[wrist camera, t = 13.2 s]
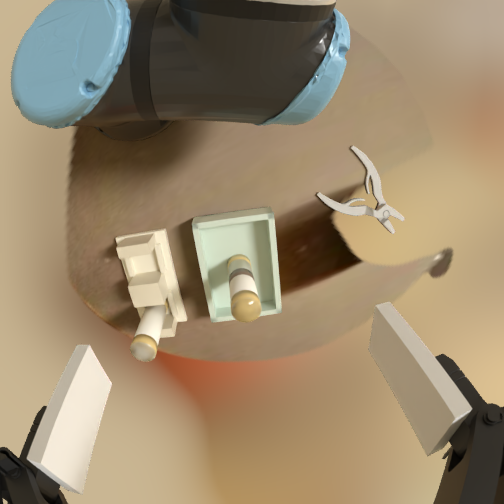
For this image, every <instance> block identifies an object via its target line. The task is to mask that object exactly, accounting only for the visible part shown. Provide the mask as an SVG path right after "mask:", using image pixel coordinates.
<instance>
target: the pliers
mask: <svg viewBox="0 0 504 504" xmlns="http://www.w3.org/2000/svg"><path fill="white" fill-rule="evenodd" d="M351 149H352V150H353V151H354V152H355V154H356V155H357V156H358V157H359V158H360V160H361V161H362V162H363V164H364V165H365V167H366V169H367V175H366V180H365V190H366V193H367V194H370V193H369V188H368V179H369V177H371V179H372V182H371V186H372V194H373V195H374V197H375V199H376V200H377V205H376V208H375V210H374V209H372V208H370V207H368V206H366V205H358V206H349V205H350V204H351V203H352V202H355V201H365V199H363V198H353V199H350V200H348V201H346V202H345V203H343V204H340V203H338V202H335V201H333V200H331V199H329V198H328V197H326V196H324V195H322V194H321V193H319V192H318V193H317V196H318V197H319V198H320V199H321V200H322V201H323V202H324V203H326V204H327V205H328V206H330V207H331V208H333V209H335V210H337V211H339V212H341V213H344V214H348V215H354V216H358V215H364V214H366V215H370V216H374V217H376V218H377V219H378V221H379V222H380V223H381V224H382V225H383V226H384V227H385V228H386V229H387V230H388V231H389V232H390V233H392V234H394V233H395V230H394V229H393V227H392V225H391V223H390V222H389V220H388V217H389V216H393V217H395V218H397V219H400V220H402V221H404V219H405V218H404V217H403V216H402V215H401V214H400V213H398V212H397V211H396V210H395V209H394V208H392V207H390V206H388V205H386V202H385V200H384V199H383V195H382V191H381V181H380V178H379V175H378V173H377V171H376V169H375V167H374V165H373V164H372V162H371V161H370V160H369V158H368V157H367V156H366V155H365V154H364V153H363V152H361V151H360V150H359V149H357V148H356V147H354V146H351Z"/></svg>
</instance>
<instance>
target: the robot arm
mask: <svg viewBox="0 0 504 504" xmlns="http://www.w3.org/2000/svg"><path fill="white" fill-rule="evenodd" d="M336 1H337V0H55V1H53V2H52V3H51V4H50V5H48V6H47V7H46V8H45V9H44V10H43V11H42V12H41V13H40V14H39V15H38V16H37V18H36V19H35V21H34V23H33V24H32V25H31V27H30V28H29V29H28V30H27V31H26V33H25V34H24V36H23V38H22V40H21V42H20V44H19V46H18V49H17V51H16V54H15V57H14V61H13V66H12V72H11V90H12V95H13V99H14V102H15V104H16V106H18V108H19V109H20V111H21V114H22V115H23V116H24V117H25V118H26V119H28V120H29V121H31V122H33V123H36V124H39V125H46V126H47V127H52V128H56V129H57V128H64V127H67V126H93V127H95V128H96V129H97V130H98V131H99V132H101V133H102V134H104V135H105V136H108V137H110V138H113V139H116V140H122V141H135V140H142V139H146V138H149V137H152V136H154V135H156V134H158V133H160V132H161V131H163V130H164V129H166V128H167V127H168V126H169V125H170V124H171V123H172V122H173V121H174V120H200V121H225V122H240V123H253V124H255V125H259V126H260V125H264V126H265V125H269V124H284V125H298V124H303V123H306V122H308V121H310V120H311V119H313V118H314V117H316V116H317V115H318V114H319V113H320V112H321V111H322V110H323V109H324V108H325V107H326V105H327V104H328V103H329V101H330V100H331V98H332V97H333V95H334V93H335V91H336V89H337V87H338V85H339V83H340V81H341V79H342V76H343V73H344V70H345V67H346V63H347V61H346V60H345V57H344V56H345V54H346V52H347V51H348V50H349V47H350V31H349V26H348V22H347V21H346V19H345V17H344V16H343V15H342V14H341V13H340V12H338V11H337V10H336V9H335V8H334V7H335V4H336ZM368 350H369V352H370V353H371V355H372V357H373V359H374V360H375V362H376V364H377V365H378V367H379V369H380V371H381V372H382V374H383V376H384V377H385V379H386V381H387V383H388V384H389V386H390V388H391V390H392V391H393V393H394V395H395V397H396V398H397V400H398V402H399V404H400V406H401V408H402V409H403V411H404V413H405V415H406V417H407V419H408V421H409V422H410V424H411V426H412V428H413V430H414V432H415V434H416V436H417V437H418V439H419V441H420V443H421V445H422V447H423V449H424V450H425V453H426V455H427V456H429V455H431V454H433V453H435V452H437V451H439V450H440V449H442V448H443V447H444V446H445V445H446V444H447V443H448V441H449V442H450V444H451V445H452V446H451V447H450V448H449V450H448V451H447V452H446V453H445V454H444V456H443V458H442V459H445V458H446V457H447V456H448V459H447V462H446V466H445V470H444V473H443V477H442V480H441V483H440V486H439V489H438V492H437V495H436V498H435V501H434V504H504V407H499V406H498V405H496V404H487V403H486V402H485V401H484V400H483V399H482V397H481V396H480V394H479V393H478V392H477V391H476V389H475V388H474V386H473V385H472V384H471V383H470V381H469V380H468V379H467V378H466V377H465V375H464V374H463V372H462V371H461V370H460V368H459V367H458V366H457V365H456V363H455V362H454V361H453V360H452V359H450V358H449V357H447V356H446V355H444V354H441V355H439V356H436V357H434V356H433V354H432V353H431V352H430V350H429V349H428V348H427V347H426V345H425V344H424V343H423V342H422V340H421V339H420V338H419V337H418V335H417V334H416V333H415V332H414V330H413V329H412V328H411V327H410V325H409V324H408V323H407V322H406V321H405V320H404V318H403V317H402V316H401V315H400V314H399V313H398V311H397V310H396V309H395V308H394V306H393V305H392V304H391V303H390V302H386V303H382V304H378V305H375V309H374V316H373V324H372V330H371V337H370V343H369V348H368ZM111 386H112V383H111V382H110V380H109V378H108V377H107V375H106V373H105V372H104V370H103V368H102V366H101V365H100V363H99V361H98V359H97V358H96V356H95V354H94V352H93V351H92V349H91V347H90V345H77V346H76V348H75V350H74V352H73V354H72V356H71V358H70V360H69V361H68V363H67V365H66V368H65V369H64V371H63V373H62V376H61V378H60V380H59V382H58V384H57V386H56V388H55V390H54V392H53V395H52V397H51V399H50V401H49V404H48V406H43V407H42V409H41V410H40V411H39V412H38V413H37V415H36V417H35V420H34V422H33V425H32V427H31V429H30V432H29V434H28V437H27V439H26V442H25V444H24V447H23V449H22V452H21V455H20V457H19V458H17V456H15V455H14V454H13V453H12V452H11V451H10V450H9V449H8V448H5V447H1V448H0V504H3V499H5V500H6V501H7V502H8V504H68V503H67V501H66V499H65V497H64V495H63V493H62V492H61V490H59V488H60V485H61V486H62V487H64V488H65V489H66V490H68V491H71V492H74V493H78V494H83V490H84V485H85V481H86V476H87V472H88V467H89V463H90V459H91V455H92V451H93V447H94V443H95V439H96V436H97V432H98V429H99V425H100V422H101V418H102V415H103V411H104V408H105V405H106V402H107V398H108V395H109V392H110V389H111ZM2 498H3V499H2Z"/></svg>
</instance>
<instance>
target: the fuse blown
mask: <svg viewBox="0 0 504 504" xmlns="http://www.w3.org/2000/svg"><path fill="white" fill-rule="evenodd" d="M227 267H228V276H229V288H230V300H231V301H230V305H231V314H232V316H233V317H234V318H235V319H236V320H238V321H240V322H251V321H253V320H255V319H257V318H258V317H259V315H260V314H261V310H262V308H261V304H260V299H259V297H258V293H257V289H256V285H255V280H254V276H253V272H252V267H251V263H250V260H249V258H248V257H247V256H245V255H242V254H236V255H234V256H232V257H231V258H230V259H229V260H228V263H227Z"/></svg>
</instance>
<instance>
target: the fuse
mask: <svg viewBox="0 0 504 504" xmlns="http://www.w3.org/2000/svg"><path fill="white" fill-rule="evenodd" d="M167 309H168V301H167V299H166V301H165V304H164V305H155V306H146V307H145V310H144V313H143V315H142V318H141V321H140V323H139V326H138V329H137V331H136V334H135V337H134V339H133V341H132V344H131V347H130V351H131V354H132V355H133V356H134V357H135V358H136V359H138V360H140V361H145V362H146V361H151V360H153V359H154V358H155V356H156V352H157V348H158V342H159V338H160V335H161V331H162V327H163V323H164V319H165V316H166V313H167Z"/></svg>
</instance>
